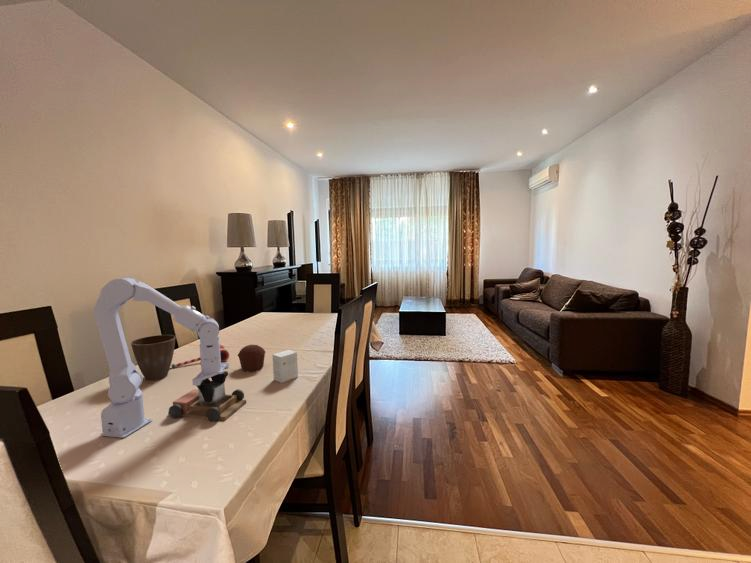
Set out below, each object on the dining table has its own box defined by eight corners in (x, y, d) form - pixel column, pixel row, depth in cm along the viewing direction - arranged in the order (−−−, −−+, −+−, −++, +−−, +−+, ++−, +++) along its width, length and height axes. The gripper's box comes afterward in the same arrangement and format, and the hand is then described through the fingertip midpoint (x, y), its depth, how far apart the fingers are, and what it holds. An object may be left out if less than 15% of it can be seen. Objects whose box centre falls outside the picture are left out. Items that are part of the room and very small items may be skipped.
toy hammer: (172, 373, 137) (171, 358, 136) (170, 365, 146) (169, 351, 145) (229, 361, 150) (229, 348, 149) (224, 355, 160) (223, 342, 159)
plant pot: (161, 368, 141) (158, 333, 139) (186, 372, 136) (183, 335, 134) (125, 382, 127) (121, 342, 125) (152, 386, 122) (148, 346, 120)
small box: (290, 373, 133) (289, 349, 132) (298, 377, 129) (297, 351, 128) (273, 380, 127) (271, 354, 126) (281, 383, 123) (280, 357, 122)
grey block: (216, 406, 101) (214, 388, 100) (199, 406, 102) (198, 387, 101) (225, 400, 105) (224, 382, 104) (209, 399, 106) (207, 382, 106)
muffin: (272, 365, 142) (270, 344, 141) (252, 374, 133) (250, 351, 132) (253, 362, 148) (252, 341, 147) (232, 370, 138) (231, 347, 137)
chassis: (222, 422, 95) (222, 409, 95) (165, 417, 99) (163, 405, 99) (248, 401, 109) (247, 389, 108) (196, 397, 112) (195, 386, 112)
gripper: (206, 365, 94) (209, 409, 95) (235, 350, 108) (237, 388, 110) (185, 364, 95) (188, 408, 97) (217, 349, 109) (219, 387, 111)
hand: (213, 397), depth 103 cm, fingers closed on grey block, 4 cm apart
